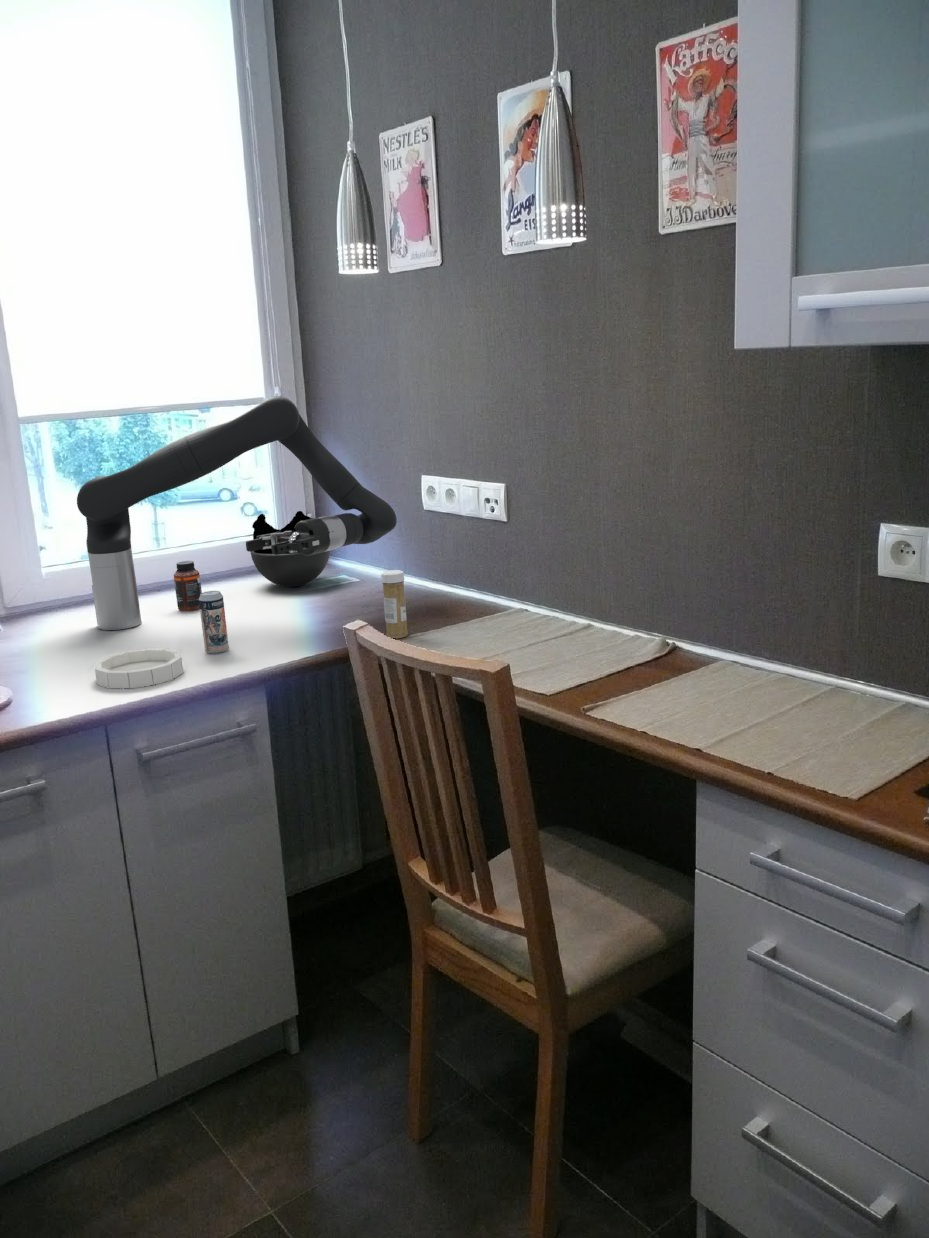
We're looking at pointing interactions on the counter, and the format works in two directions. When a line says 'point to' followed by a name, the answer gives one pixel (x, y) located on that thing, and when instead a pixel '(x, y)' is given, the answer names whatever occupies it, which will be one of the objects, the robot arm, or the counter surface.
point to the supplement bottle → (187, 586)
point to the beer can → (213, 622)
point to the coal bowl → (286, 557)
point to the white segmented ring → (138, 668)
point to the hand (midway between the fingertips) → (259, 548)
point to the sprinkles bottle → (394, 603)
